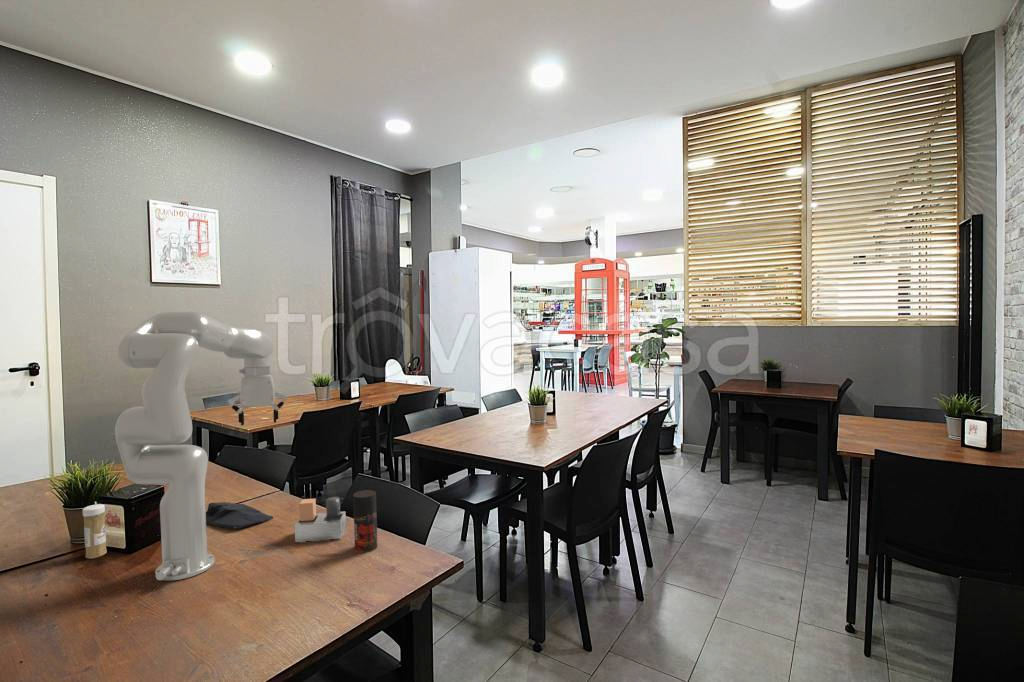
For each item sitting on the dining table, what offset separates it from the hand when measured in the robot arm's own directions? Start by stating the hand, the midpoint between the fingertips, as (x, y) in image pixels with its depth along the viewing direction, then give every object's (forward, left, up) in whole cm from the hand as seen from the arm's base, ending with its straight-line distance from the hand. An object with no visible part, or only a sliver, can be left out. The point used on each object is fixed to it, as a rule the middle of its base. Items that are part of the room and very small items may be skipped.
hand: (259, 423), depth 165 cm
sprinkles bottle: (-27, +34, -29) cm, 52 cm away
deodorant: (-37, -38, -29) cm, 60 cm away
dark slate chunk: (-8, +6, -30) cm, 31 cm away
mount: (-26, -24, -29) cm, 46 cm away
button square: (-26, -21, -24) cm, 41 cm away
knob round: (-26, -28, -24) cm, 45 cm away
